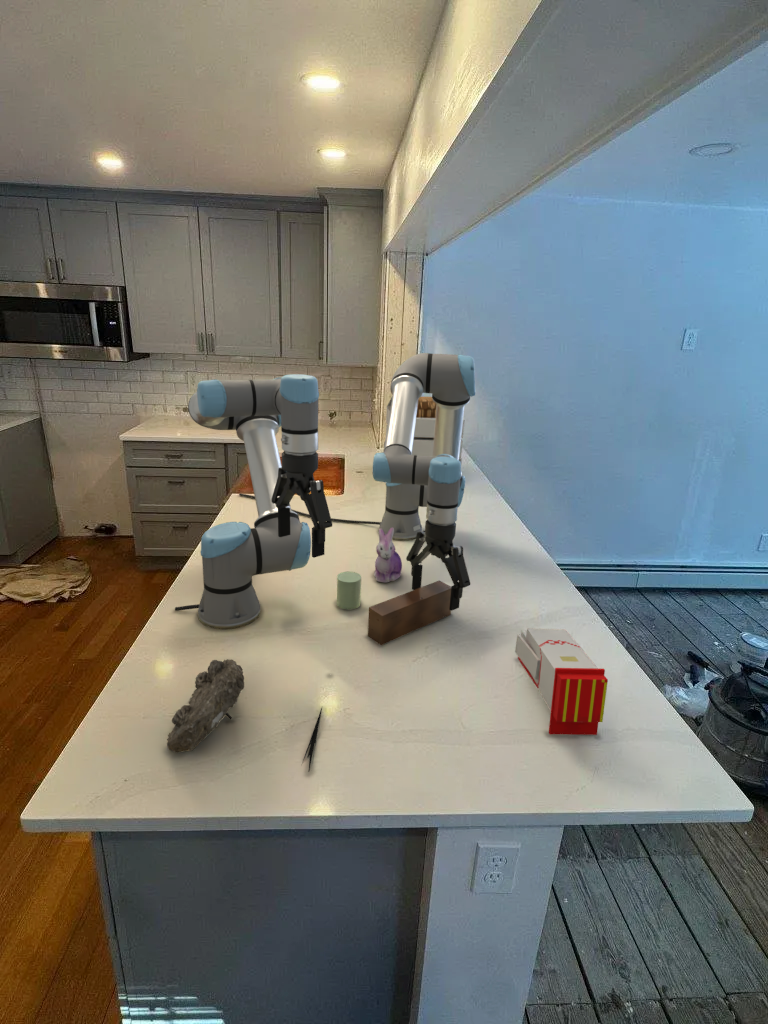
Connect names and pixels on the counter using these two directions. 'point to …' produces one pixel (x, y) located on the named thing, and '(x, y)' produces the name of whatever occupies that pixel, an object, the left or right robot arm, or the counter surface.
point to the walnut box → (408, 612)
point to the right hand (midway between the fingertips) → (434, 598)
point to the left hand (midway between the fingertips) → (300, 545)
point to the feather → (313, 740)
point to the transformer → (424, 427)
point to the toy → (564, 680)
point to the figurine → (387, 558)
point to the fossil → (206, 705)
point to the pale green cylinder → (348, 590)
